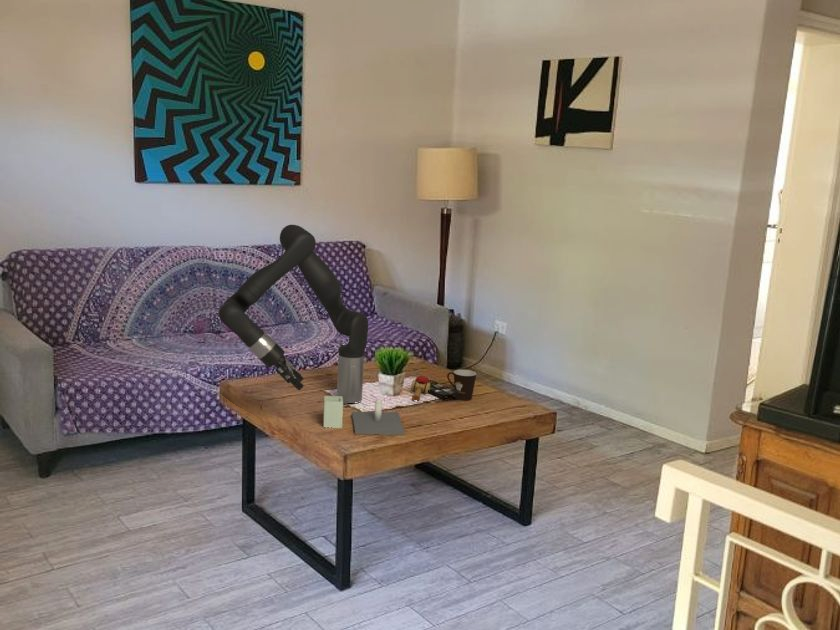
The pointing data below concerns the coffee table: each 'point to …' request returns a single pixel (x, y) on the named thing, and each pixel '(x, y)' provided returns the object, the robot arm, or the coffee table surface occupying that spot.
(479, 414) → the coffee table surface
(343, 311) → the robot arm
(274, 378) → the coffee table surface
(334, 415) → the collar
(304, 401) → the coffee table surface
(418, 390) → the kendama
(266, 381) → the coffee table surface
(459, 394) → the coffee mug
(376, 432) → the hub stand
